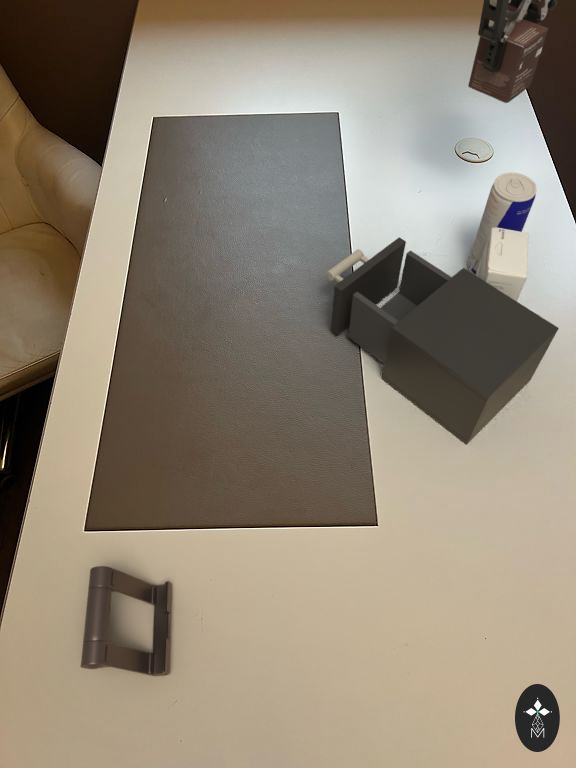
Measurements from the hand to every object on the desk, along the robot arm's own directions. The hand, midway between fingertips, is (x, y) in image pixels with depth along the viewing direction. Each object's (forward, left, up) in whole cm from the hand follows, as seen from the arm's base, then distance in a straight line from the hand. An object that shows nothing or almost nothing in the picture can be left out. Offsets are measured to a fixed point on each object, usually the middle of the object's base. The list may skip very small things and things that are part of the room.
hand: (507, 58), depth 78 cm
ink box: (+15, +15, -25) cm, 32 cm away
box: (0, 0, -4) cm, 4 cm away
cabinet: (+27, +19, -25) cm, 41 cm away
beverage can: (+8, +10, -25) cm, 28 cm away
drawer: (+27, +6, -24) cm, 36 cm away
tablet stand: (+75, +15, -25) cm, 81 cm away
